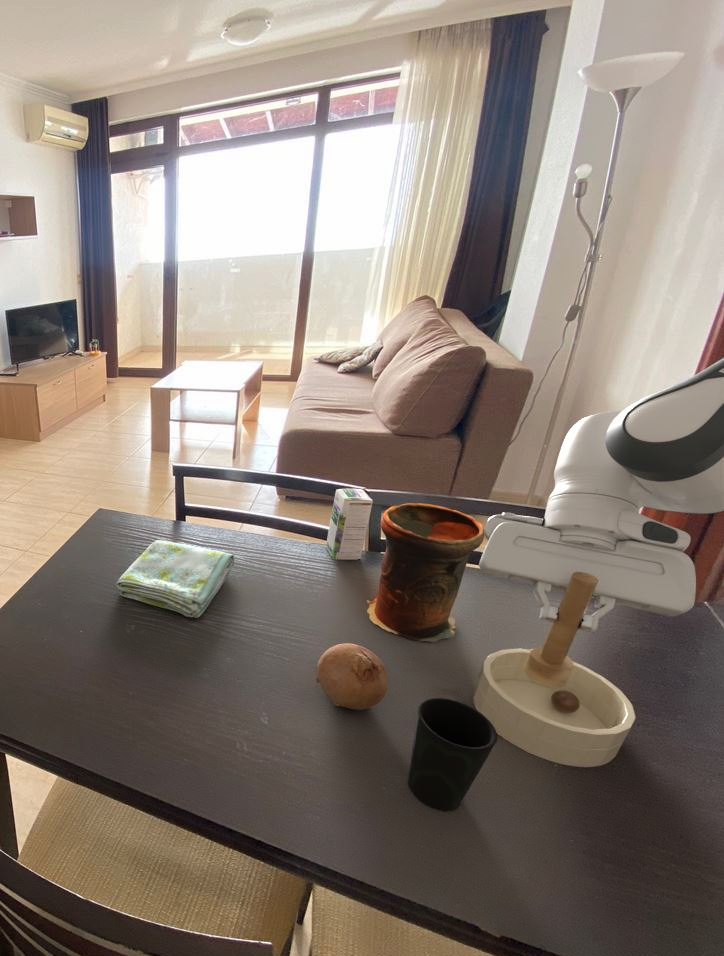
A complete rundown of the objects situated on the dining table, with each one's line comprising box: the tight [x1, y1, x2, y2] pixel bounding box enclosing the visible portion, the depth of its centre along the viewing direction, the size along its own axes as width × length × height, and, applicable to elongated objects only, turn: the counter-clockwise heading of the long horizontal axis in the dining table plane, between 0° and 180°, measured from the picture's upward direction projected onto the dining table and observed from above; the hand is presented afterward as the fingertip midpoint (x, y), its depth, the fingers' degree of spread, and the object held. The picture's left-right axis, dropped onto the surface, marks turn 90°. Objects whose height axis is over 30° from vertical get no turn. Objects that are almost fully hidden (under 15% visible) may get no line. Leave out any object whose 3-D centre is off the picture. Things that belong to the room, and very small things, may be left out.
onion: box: [315, 642, 389, 711], centre depth 80 cm, size 10×9×10 cm
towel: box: [115, 539, 235, 619], centre depth 111 cm, size 18×21×5 cm
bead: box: [551, 690, 580, 713], centre depth 76 cm, size 3×3×3 cm
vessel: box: [366, 502, 485, 643], centre depth 93 cm, size 14×14×20 cm
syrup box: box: [325, 488, 374, 561], centre depth 115 cm, size 6×6×14 cm
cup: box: [407, 697, 498, 812], centre depth 65 cm, size 8×8×12 cm
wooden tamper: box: [524, 572, 598, 687], centre depth 70 cm, size 4×4×16 cm
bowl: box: [472, 648, 637, 768], centre depth 75 cm, size 16×16×6 cm
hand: (567, 625), depth 69 cm, fingers closed on wooden tamper, 2 cm apart
